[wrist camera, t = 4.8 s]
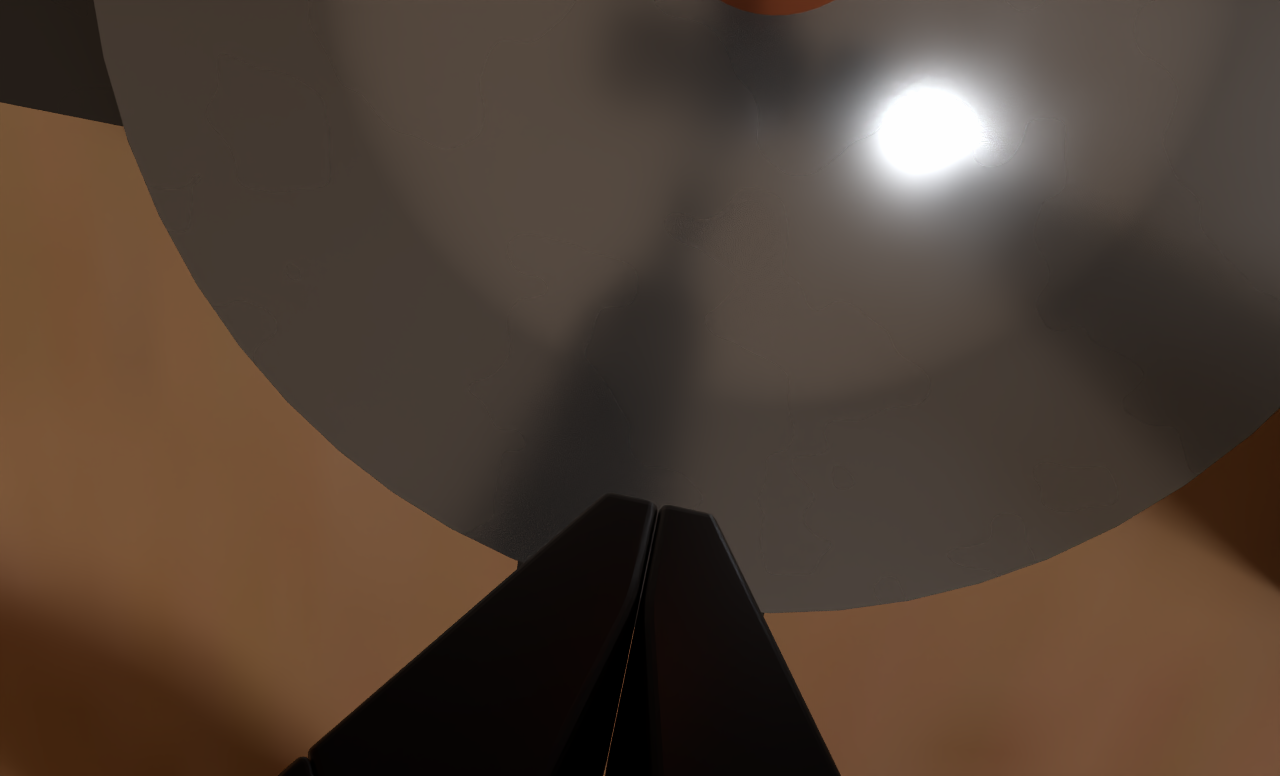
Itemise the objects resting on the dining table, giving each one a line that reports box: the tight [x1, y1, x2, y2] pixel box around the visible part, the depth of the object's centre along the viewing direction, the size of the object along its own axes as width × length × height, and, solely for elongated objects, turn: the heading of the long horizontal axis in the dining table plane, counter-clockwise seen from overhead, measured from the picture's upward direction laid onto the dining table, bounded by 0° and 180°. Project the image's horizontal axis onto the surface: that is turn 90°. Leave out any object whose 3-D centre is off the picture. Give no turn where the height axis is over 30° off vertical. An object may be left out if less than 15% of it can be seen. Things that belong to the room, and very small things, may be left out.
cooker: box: [0, 0, 764, 627], centre depth 14 cm, size 18×23×5 cm
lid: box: [94, 0, 1280, 613], centre depth 11 cm, size 15×15×2 cm
